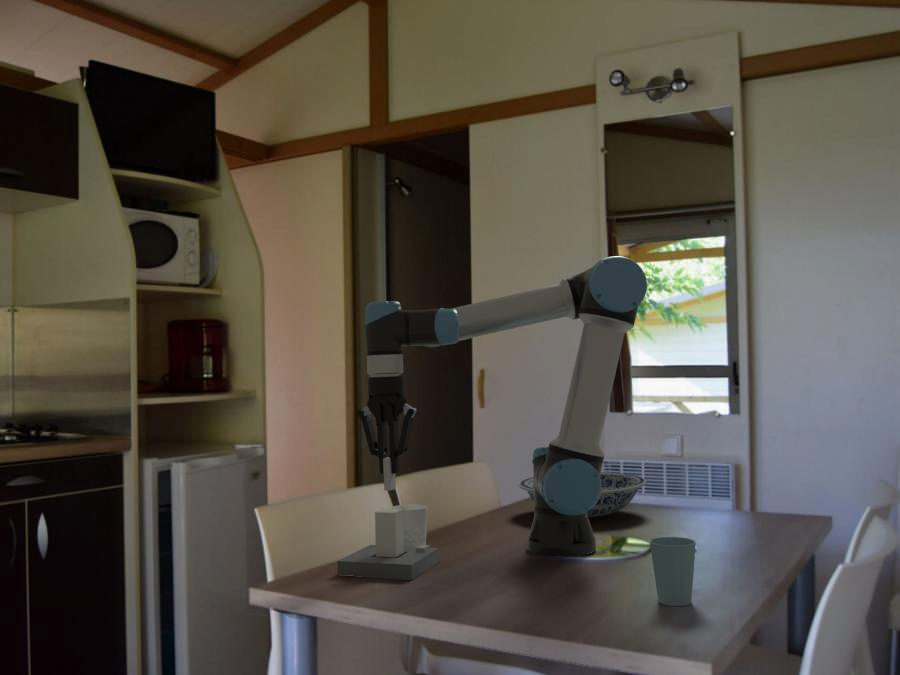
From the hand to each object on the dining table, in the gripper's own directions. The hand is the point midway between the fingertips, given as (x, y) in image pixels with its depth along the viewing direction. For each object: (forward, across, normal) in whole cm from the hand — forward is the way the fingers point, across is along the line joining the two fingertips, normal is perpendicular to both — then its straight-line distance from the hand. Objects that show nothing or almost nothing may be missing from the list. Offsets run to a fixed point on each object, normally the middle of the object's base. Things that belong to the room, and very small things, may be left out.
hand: (390, 489), depth 178 cm
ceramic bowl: (+18, -27, -69) cm, 76 cm away
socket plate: (+16, +1, 0) cm, 16 cm away
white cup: (+17, +3, -17) cm, 24 cm away
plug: (+16, +1, 0) cm, 16 cm away
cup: (+18, -57, +12) cm, 61 cm away
